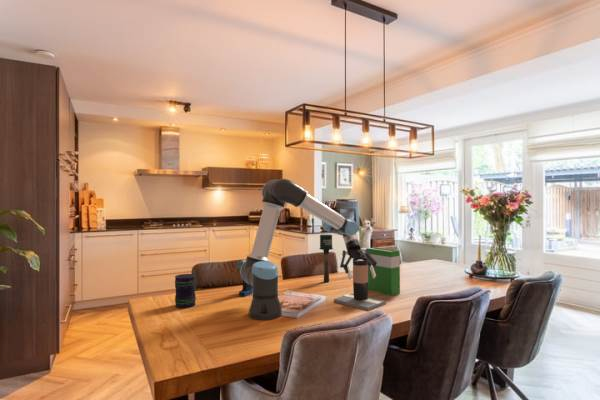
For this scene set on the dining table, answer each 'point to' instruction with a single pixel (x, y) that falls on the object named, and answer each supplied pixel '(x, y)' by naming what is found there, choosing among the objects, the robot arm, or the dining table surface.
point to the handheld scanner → (244, 283)
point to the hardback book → (385, 271)
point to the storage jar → (185, 291)
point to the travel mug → (360, 278)
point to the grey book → (360, 302)
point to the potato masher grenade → (326, 252)
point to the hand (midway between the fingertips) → (362, 277)
